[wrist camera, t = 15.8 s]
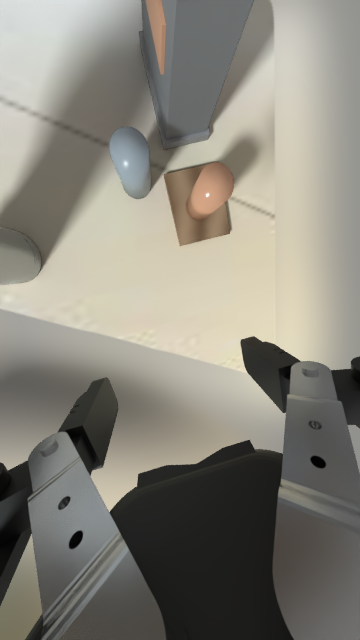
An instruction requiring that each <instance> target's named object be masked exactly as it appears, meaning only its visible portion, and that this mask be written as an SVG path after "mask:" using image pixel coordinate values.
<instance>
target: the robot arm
mask: <svg viewBox="0 0 360 640" xmlns="http://www.w3.org/2000/svg"><path fill="white" fill-rule="evenodd" d="M40 268H41V255H40V252H39V250H38V248H37V246H36V245H35V244H34V242H33V241H32V240H31V239H29V238H28V237H27V236H25V235H24V234H22V233H20V232H17V231H14V230H10V229H6V228H3V227H0V285H9V284H18V283H25V282H28V281H30V280H32V279H34V278H35V277H36V276H37V274H38V273H39V271H40ZM241 348H242V354H243V360H244V365H245V368H246V370H247V372H248V374H249V375H250V376H251V377H252V378H253V379H254V380H255V381H256V383H257V384H258V385H259V386H260V387H261V388H262V389H263V390H264V392H265V393H266V394H267V395H268V396H269V397H270V398H271V400H272V401H273V402H274V403H275V404H276V405H277V406H278V407H279V409H280V410H281V411H282V412H283V413H285V412H286V420H285V434H284V448H283V454H282V453H278V452H275V451H270V450H263V449H254V447H253V445H252V444H251V442H250V440H247V441H244V442H240V443H237V444H234V445H231V446H227V447H225V448H222V449H221V450H219V451H217V452H215V453H214V454H212V455H210V456H209V457H207V458H206V459H204V460H203V461H201V462H199V463H197V464H191V465H166V466H163V467H160V468H157V469H153V470H150V471H147V472H143V473H140V474H138V483H137V487H135V488H134V489H132V490H131V491H130V492H128V493H127V494H126V495H125V496H124V497H123V498H122V499H121V500H120V501H119V502H118V503H117V504H116V505H115V506H114V507H113V509H112V510H111V511H110V512H109V511H108V509H107V507H106V505H105V504H104V501H103V500H102V498H101V496H100V494H99V492H98V490H97V488H96V486H95V484H94V483H93V481H92V479H91V477H90V476H91V472H92V470H96V469H98V468H102V467H103V465H104V461H105V457H106V454H107V450H108V446H109V443H110V439H111V435H112V431H113V428H114V424H115V420H116V416H117V413H118V402H117V398H116V396H115V393H114V391H113V388H112V386H111V384H110V381H109V379H108V378H102V379H99V380H95V381H93V382H92V383H91V385H90V387H89V388H88V390H87V392H85V393H84V394H83V395H82V396H80V397H79V398H78V400H77V401H76V403H75V404H74V406H73V408H72V409H71V411H70V414H68V416H67V418H66V419H65V421H64V423H63V424H62V426H61V428H60V429H59V431H58V432H57V433H55V434H53V435H51V436H49V437H47V438H46V439H44V440H43V441H42V442H40V443H39V444H38V445H37V446H36V447H35V448H34V449H33V451H32V452H31V454H30V455H29V458H28V461H26V462H24V463H22V464H20V465H18V466H16V467H14V468H12V469H10V470H7V469H6V467H5V466H4V464H3V463H0V605H1V603H2V601H3V599H4V596H5V594H6V592H7V589H8V587H9V584H10V582H11V580H12V577H13V575H14V573H15V570H16V568H17V566H18V563H19V561H20V559H21V557H22V554H23V552H24V550H25V547H26V545H27V543H28V541H29V538H30V536H31V534H32V538H33V546H34V553H35V560H36V568H37V576H38V583H39V590H40V598H41V606H42V615H41V616H40V618H39V619H38V621H37V623H36V624H35V625H34V627H33V629H32V630H31V632H30V633H29V635H28V636H27V638H26V639H25V640H360V473H359V469H358V465H357V461H356V457H355V453H354V449H353V445H352V441H351V438H350V433H349V429H348V425H356V426H357V427H359V428H360V357H356V358H354V359H353V360H352V361H351V369H343V370H330V369H329V368H328V367H327V366H325V365H323V364H321V363H317V362H311V361H303V362H301V361H300V360H298V359H297V358H295V357H293V356H292V355H290V354H289V353H287V352H285V351H284V350H282V349H280V348H279V347H278V346H276V345H275V344H272V343H268V342H262V341H260V340H259V339H257V338H256V337H254V336H253V337H249V338H246V339H242V340H241Z"/></svg>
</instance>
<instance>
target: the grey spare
mask: <svg viewBox="0 0 360 640" xmlns="http://www.w3.org/2000/svg"><path fill="white" fill-rule="evenodd" d="M109 149H110V155H111V158H112V160H113V163H114V165H115V167H116V170H117V172H118V175H119V177H120V180H121V182H122V185H123V187H124V190H125V191H126V193H127V194H128V195H129V196H130V197H132V198H135V199H142V198H144V197H146V196H147V195H148V193H149V192H150V189H151V175H150V159H149V147H148V143H147V141H146V139H145V137H144V136H143V135H142V133H141V132H139V131H138V130H137V129H135V128H132V127H121V128H119V129H117V130H116V131H115V132H114V133H113V135H112V137H111V139H110V144H109Z"/></svg>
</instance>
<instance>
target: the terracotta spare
mask: <svg viewBox="0 0 360 640" xmlns="http://www.w3.org/2000/svg"><path fill="white" fill-rule="evenodd" d="M233 188H234V179H233V176H232V173H231V171H230V170H229V169H228V167H226V166H225V165H224V164H221V163H211V164H209V165H207V166H206V167H205V168H204V169H203V170H202V171H201V173H200V175H199V177H198V179H197V181H196V183H195V185H194V187H193V189H192V191H191V193H190V195H189V196H188V198H187V201H186V210H187V213H188V214H189V216H190V217H191V218H192V219H194V220H196V221H202V220H205V219H206V218H208V217H209V216H210V215H211V214H212V213H213V212H214V211H216V210H217V209H218V208H219V207H220V206H221V205H223V204H224V203H225V202H226V201H227V200H228V199H229V198H230V196H231V194H232V192H233Z"/></svg>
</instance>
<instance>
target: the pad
mask: <svg viewBox="0 0 360 640" xmlns="http://www.w3.org/2000/svg"><path fill="white" fill-rule="evenodd" d="M215 163H219V162H215ZM207 165H209V164H207ZM207 165H202V166H198V167H194V168H189V169H185V170H181V171H176V172H172V173H168V174H164V179H165V183H166V188H167V192H168V196H169V201H170V205H171V210H172V214H173V218H174V223H175V227H176V231H177V236H178V240H179V244H180V246H182V245H186V244H190V243H194V242H198V241H202V240H206V239H210V238H214V237H218V236H222V235H226V234H229V233H230V230H229V223H228V217H227V211H226V204H225V203H224V204H223V205H221V206H220V207H219V208H218V209H217V210H216V211H214V212H213V213H212V214H211V215H210V216H209V217H208V218H206V219H205V220H202V221H196V220H194V219H192V218H191V217H190V216H189V214H188V213H187V210H186V201H187V198H188V196H189V195H190V193H191V191H192V189H193V187H194V185H195V183H196V181H197V179H198V177H199V175H200V173H201V171H202V170H203V169H204V168H205V167H206V166H207Z"/></svg>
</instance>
